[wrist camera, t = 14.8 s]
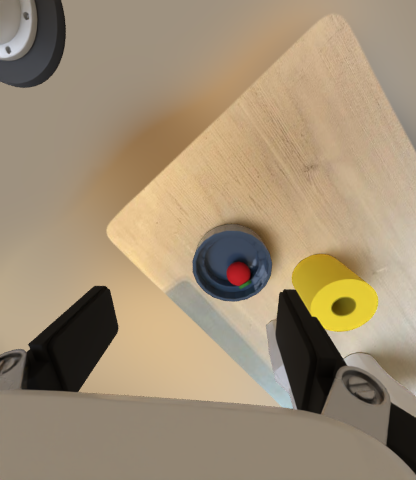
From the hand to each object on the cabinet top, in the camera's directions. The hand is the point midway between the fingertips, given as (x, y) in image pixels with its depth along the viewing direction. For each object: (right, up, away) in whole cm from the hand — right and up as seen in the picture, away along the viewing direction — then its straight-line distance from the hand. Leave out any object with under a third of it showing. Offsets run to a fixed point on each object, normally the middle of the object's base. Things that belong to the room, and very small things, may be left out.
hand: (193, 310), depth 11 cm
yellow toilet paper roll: (+23, -4, +30) cm, 38 cm away
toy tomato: (+6, -1, +28) cm, 29 cm away
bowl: (+5, 0, +30) cm, 30 cm away
